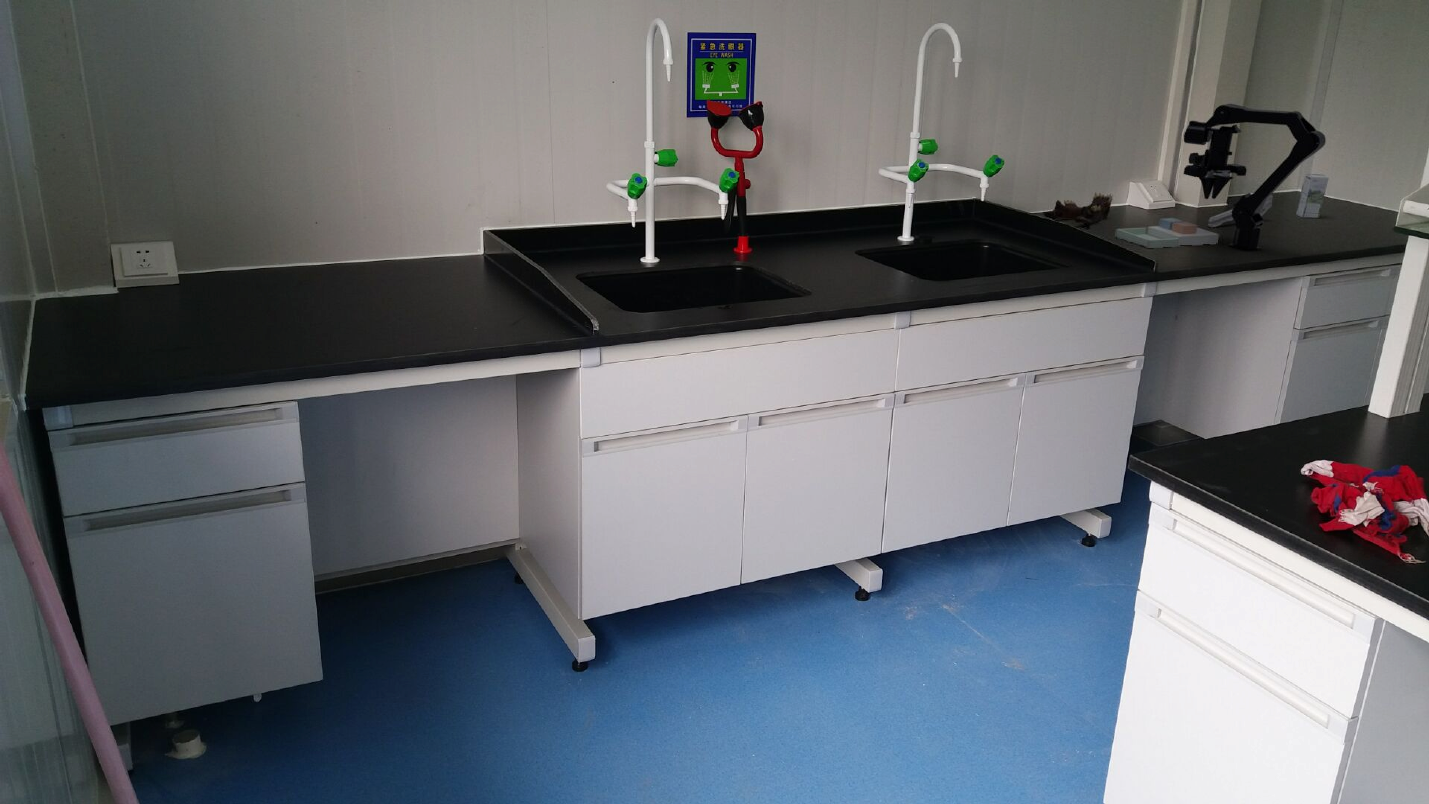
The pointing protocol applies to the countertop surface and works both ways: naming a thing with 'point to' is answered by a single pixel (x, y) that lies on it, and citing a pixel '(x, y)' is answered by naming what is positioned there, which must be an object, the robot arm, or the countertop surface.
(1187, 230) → the terracotta tile
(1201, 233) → the plate
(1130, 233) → the tray
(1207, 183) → the robot arm
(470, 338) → the countertop surface
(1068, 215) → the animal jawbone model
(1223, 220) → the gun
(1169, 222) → the slate blue tile
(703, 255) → the countertop surface
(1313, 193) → the syrup box
